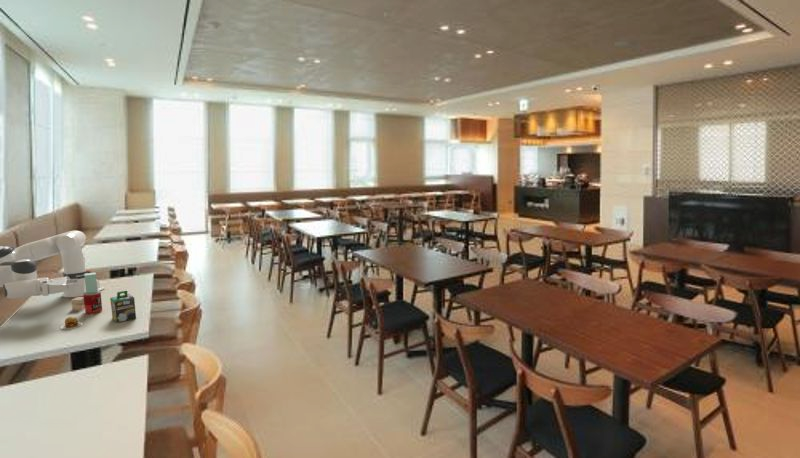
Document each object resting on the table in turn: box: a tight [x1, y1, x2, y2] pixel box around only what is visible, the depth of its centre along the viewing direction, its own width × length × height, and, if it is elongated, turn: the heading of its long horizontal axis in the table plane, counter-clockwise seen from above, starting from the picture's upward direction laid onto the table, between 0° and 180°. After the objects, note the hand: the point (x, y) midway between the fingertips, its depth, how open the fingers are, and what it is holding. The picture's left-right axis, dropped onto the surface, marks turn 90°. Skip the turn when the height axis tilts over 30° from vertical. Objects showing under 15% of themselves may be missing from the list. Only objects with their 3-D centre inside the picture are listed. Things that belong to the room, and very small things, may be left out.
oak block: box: [71, 296, 85, 311], centre depth 251 cm, size 5×5×6 cm
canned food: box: [83, 290, 103, 315], centre depth 245 cm, size 8×8×11 cm
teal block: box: [84, 272, 98, 294], centre depth 244 cm, size 5×5×10 cm
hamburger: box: [60, 316, 83, 330], centre depth 223 cm, size 12×12×6 cm
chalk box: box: [109, 290, 137, 323], centre depth 234 cm, size 9×9×15 cm
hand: (77, 282), depth 240 cm, fingers open, 8 cm apart
